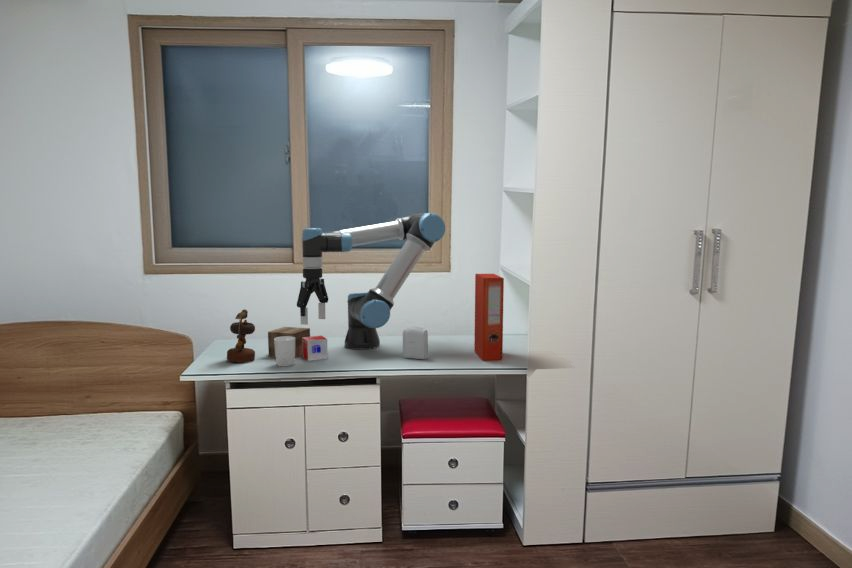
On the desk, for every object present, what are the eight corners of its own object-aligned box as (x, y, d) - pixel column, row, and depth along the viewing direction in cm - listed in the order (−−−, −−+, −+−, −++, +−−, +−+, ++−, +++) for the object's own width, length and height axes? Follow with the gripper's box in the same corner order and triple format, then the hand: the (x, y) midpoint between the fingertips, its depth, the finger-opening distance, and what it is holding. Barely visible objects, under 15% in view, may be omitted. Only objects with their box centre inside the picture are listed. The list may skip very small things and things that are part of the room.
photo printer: (401, 358, 251) (401, 327, 250) (406, 355, 255) (405, 325, 254) (425, 360, 247) (424, 328, 246) (429, 358, 251) (429, 327, 250)
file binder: (493, 350, 263) (494, 273, 260) (503, 360, 246) (503, 277, 243) (474, 351, 262) (474, 273, 259) (482, 361, 245) (482, 278, 242)
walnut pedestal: (310, 352, 262) (309, 328, 261) (294, 358, 251) (293, 333, 250) (285, 350, 267) (284, 326, 265) (268, 356, 255) (267, 331, 254)
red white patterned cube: (322, 354, 258) (321, 335, 258) (327, 358, 251) (327, 338, 250) (302, 356, 255) (302, 337, 254) (307, 360, 248) (307, 340, 247)
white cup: (276, 362, 246) (275, 336, 245) (297, 361, 247) (296, 336, 245) (273, 367, 238) (272, 340, 237) (294, 366, 239) (294, 340, 238)
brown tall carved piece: (255, 363, 244) (254, 311, 242) (225, 365, 241) (223, 312, 239) (256, 354, 258) (254, 306, 256) (228, 356, 256) (226, 307, 254)
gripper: (320, 265, 262) (320, 316, 264) (286, 270, 239) (287, 326, 241) (336, 265, 259) (337, 317, 262) (304, 270, 236) (305, 327, 239)
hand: (313, 321), depth 251 cm, fingers open, 13 cm apart
